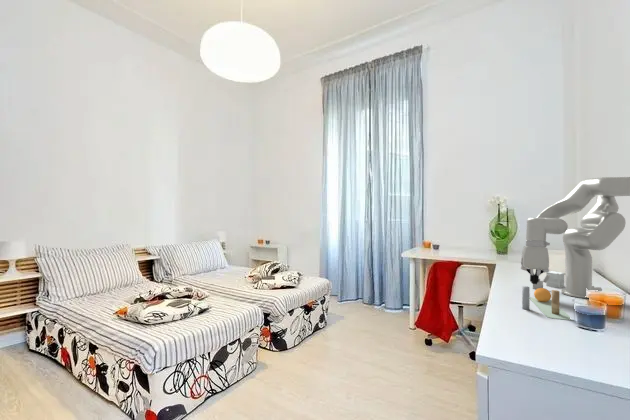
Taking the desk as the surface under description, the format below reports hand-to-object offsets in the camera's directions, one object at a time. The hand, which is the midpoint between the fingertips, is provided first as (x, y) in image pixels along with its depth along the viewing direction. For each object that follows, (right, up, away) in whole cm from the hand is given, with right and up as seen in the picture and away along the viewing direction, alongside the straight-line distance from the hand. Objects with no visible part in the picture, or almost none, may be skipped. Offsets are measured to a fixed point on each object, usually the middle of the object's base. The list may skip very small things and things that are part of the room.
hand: (534, 283), depth 142 cm
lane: (-6, -6, -17) cm, 19 cm away
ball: (-3, -3, -9) cm, 9 cm away
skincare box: (+24, -6, +18) cm, 31 cm away
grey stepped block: (+12, -6, +12) cm, 18 cm away
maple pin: (-9, -6, -24) cm, 27 cm away
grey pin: (-16, -6, -18) cm, 25 cm away
